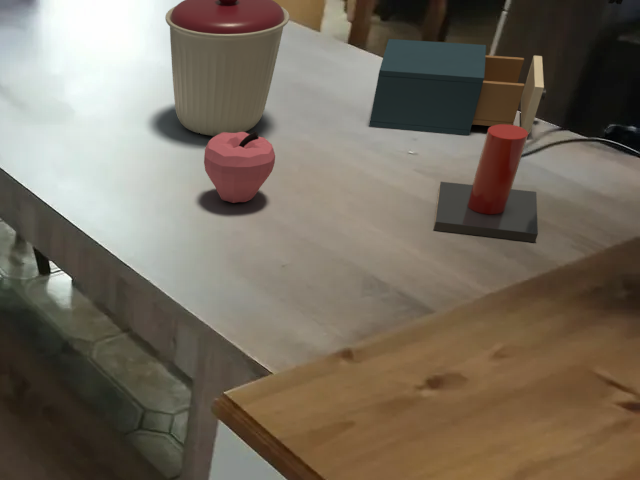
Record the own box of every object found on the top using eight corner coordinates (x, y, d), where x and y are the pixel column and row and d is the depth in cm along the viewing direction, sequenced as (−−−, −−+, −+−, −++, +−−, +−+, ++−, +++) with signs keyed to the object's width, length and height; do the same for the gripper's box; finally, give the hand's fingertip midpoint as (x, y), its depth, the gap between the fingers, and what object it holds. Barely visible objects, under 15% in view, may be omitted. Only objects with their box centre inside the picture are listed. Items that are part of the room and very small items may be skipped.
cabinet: (472, 100, 150) (486, 44, 144) (469, 135, 140) (484, 77, 134) (378, 92, 154) (388, 38, 149) (368, 126, 144) (379, 70, 138)
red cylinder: (505, 200, 121) (528, 126, 115) (505, 216, 118) (528, 140, 112) (467, 196, 123) (488, 122, 116) (466, 212, 120) (487, 136, 113)
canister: (300, 124, 146) (320, -21, 132) (218, 158, 138) (231, 8, 124) (217, 94, 157) (228, -43, 143) (137, 123, 149) (141, -18, 135)
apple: (259, 182, 132) (267, 112, 125) (278, 210, 125) (288, 138, 118) (193, 189, 131) (198, 119, 124) (209, 217, 125) (215, 145, 118)
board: (533, 200, 124) (536, 191, 123) (535, 242, 115) (538, 233, 115) (438, 189, 127) (440, 181, 126) (433, 230, 119) (435, 221, 118)
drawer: (537, 100, 146) (550, 56, 142) (538, 134, 137) (553, 87, 132) (438, 93, 150) (448, 49, 146) (433, 124, 141) (444, 79, 137)
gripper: (604, -150, 116) (555, 5, 129) (741, -147, 112) (677, 13, 124) (600, -161, 122) (554, -11, 134) (731, -159, 117) (671, -4, 129)
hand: (613, 0), depth 129 cm, fingers closed
